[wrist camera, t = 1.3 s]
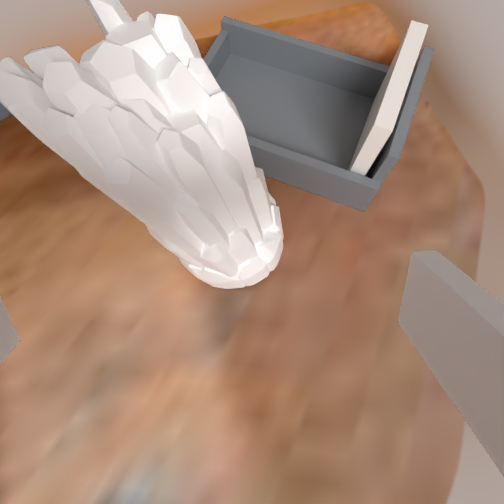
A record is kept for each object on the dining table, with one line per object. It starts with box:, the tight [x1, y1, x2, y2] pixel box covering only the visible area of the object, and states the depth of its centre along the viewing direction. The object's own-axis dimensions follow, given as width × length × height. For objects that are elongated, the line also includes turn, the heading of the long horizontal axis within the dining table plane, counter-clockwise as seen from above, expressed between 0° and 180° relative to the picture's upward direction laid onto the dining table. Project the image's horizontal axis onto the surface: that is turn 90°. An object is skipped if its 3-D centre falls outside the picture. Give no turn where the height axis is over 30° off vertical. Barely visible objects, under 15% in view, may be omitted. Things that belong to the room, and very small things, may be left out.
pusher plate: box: [348, 21, 428, 176], centre depth 33 cm, size 2×13×10 cm, turn 158°
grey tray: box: [203, 16, 434, 211], centre depth 36 cm, size 24×16×9 cm, turn 67°
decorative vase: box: [0, 0, 284, 289], centre depth 23 cm, size 11×11×25 cm
